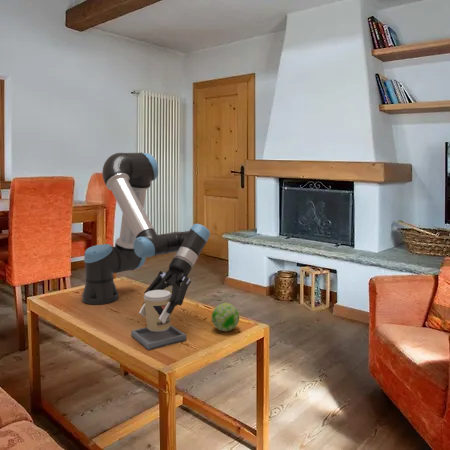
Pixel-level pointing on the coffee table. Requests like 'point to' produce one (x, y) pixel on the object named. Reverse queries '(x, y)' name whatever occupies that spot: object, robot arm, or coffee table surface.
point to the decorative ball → (225, 317)
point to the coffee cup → (156, 309)
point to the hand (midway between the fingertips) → (151, 317)
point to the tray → (158, 337)
